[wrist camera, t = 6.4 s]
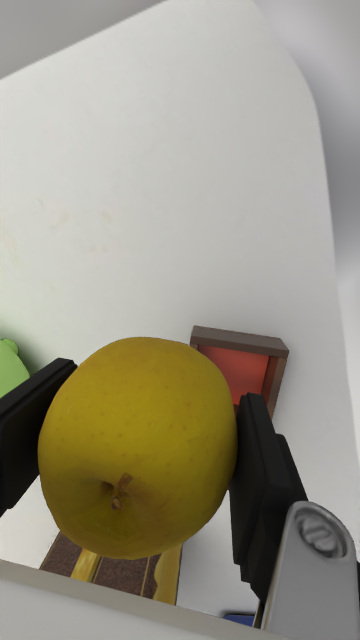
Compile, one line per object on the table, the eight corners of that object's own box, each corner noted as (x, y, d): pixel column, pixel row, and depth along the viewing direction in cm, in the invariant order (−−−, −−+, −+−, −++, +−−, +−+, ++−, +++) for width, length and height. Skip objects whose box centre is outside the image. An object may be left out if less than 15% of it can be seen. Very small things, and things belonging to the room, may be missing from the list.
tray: (193, 325, 27) (190, 335, 24) (280, 338, 27) (289, 350, 23) (176, 455, 32) (171, 478, 29) (248, 469, 32) (252, 495, 28)
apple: (210, 295, 12) (200, 388, 4) (245, 415, 13) (290, 655, 5) (86, 331, 13) (-102, 454, 5) (131, 437, 14) (34, 655, 7)
